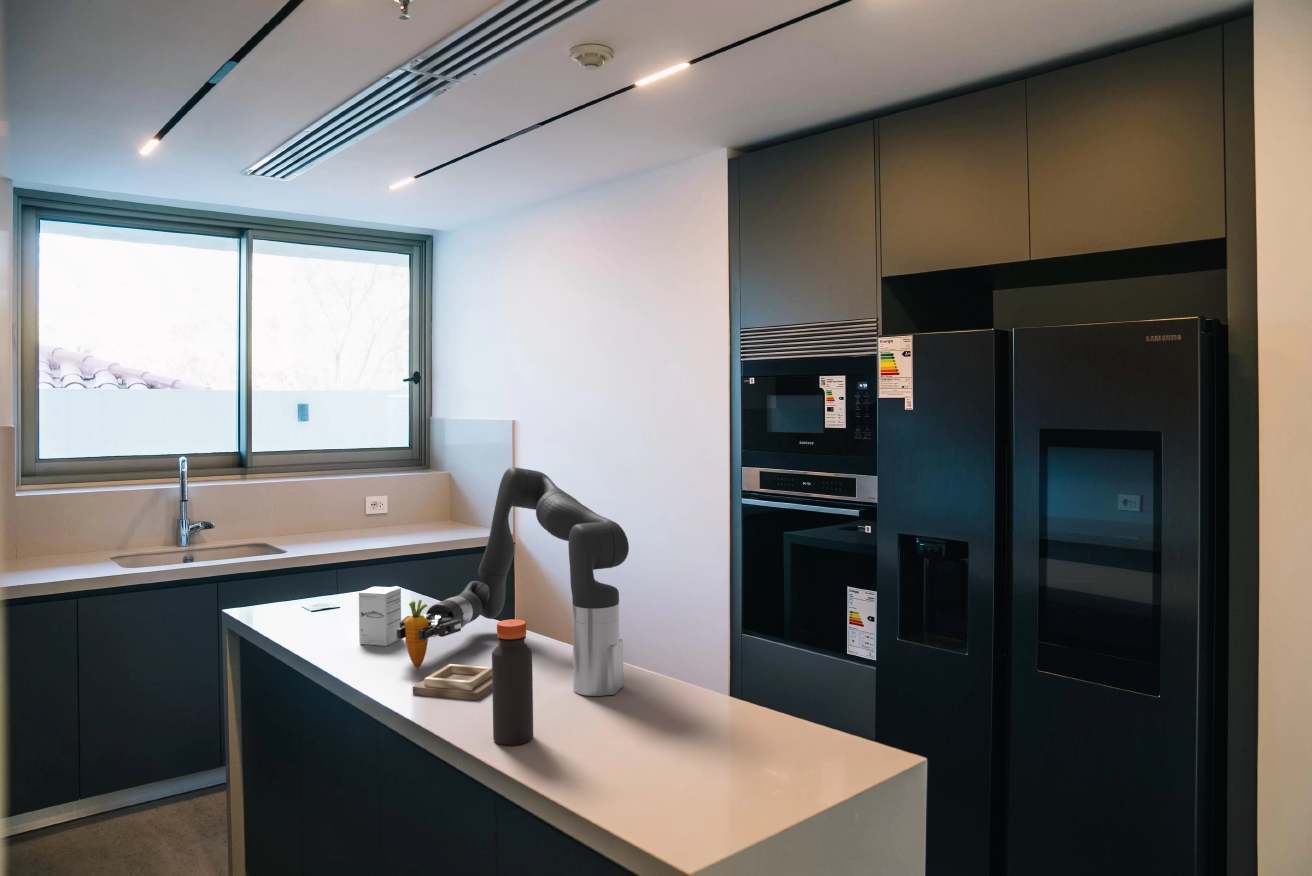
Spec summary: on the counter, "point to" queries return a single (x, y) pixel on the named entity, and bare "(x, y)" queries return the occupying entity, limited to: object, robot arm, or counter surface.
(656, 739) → the counter surface
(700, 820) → the counter surface
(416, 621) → the carrot
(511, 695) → the bottle
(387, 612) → the supplement box
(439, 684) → the beige wooden tray
